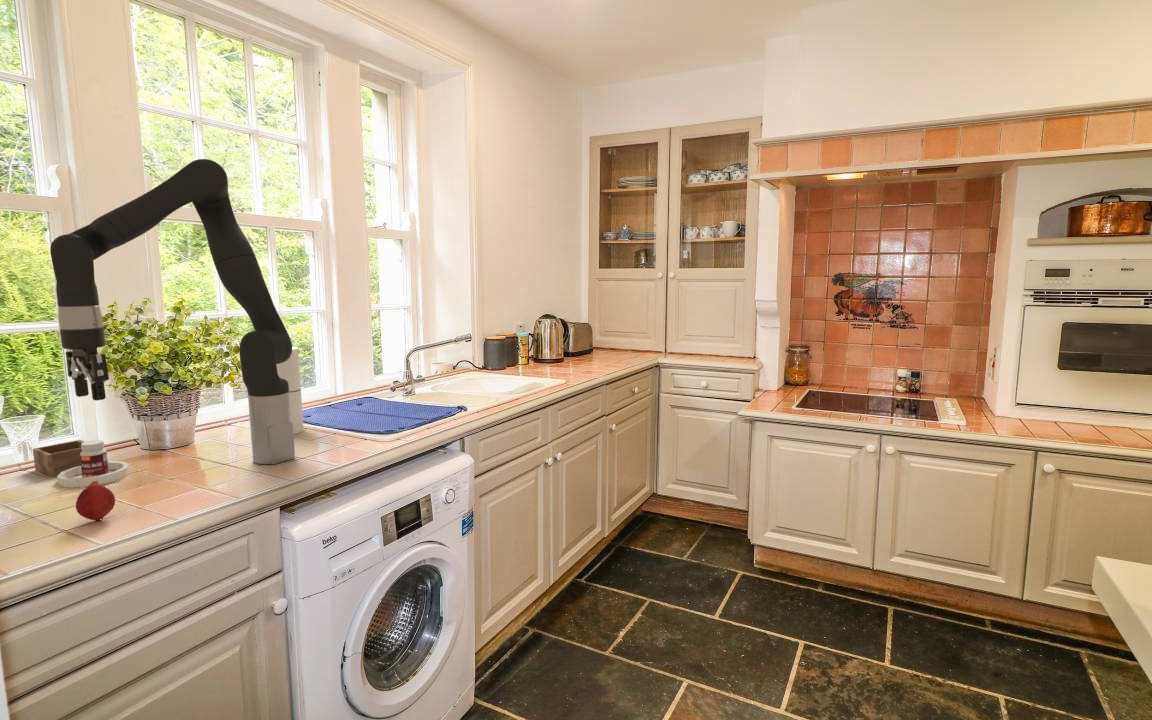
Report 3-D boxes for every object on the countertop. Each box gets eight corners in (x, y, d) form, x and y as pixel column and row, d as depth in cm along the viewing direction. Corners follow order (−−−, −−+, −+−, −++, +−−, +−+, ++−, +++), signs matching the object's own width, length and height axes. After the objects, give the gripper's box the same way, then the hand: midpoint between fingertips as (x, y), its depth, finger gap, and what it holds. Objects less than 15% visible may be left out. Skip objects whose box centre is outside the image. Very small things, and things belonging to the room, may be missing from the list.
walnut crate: (98, 469, 143) (95, 445, 142) (50, 480, 135) (47, 455, 134) (82, 463, 147) (79, 439, 146) (35, 473, 140) (32, 448, 139)
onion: (85, 530, 110) (80, 488, 108) (73, 522, 113) (67, 482, 111) (122, 519, 114) (117, 479, 113) (109, 512, 117) (104, 473, 116)
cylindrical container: (284, 435, 172) (278, 351, 169) (272, 431, 177) (266, 348, 173) (308, 430, 178) (302, 348, 174) (296, 426, 182) (290, 346, 179)
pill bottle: (79, 482, 132) (75, 446, 131) (86, 476, 136) (82, 440, 135) (106, 479, 134) (102, 443, 133) (111, 473, 138) (108, 438, 137)
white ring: (139, 477, 137) (137, 467, 137) (72, 494, 127) (71, 483, 126) (115, 468, 144) (114, 458, 143) (50, 483, 133) (49, 472, 133)
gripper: (116, 326, 131) (124, 398, 133) (88, 323, 138) (96, 392, 140) (74, 329, 125) (84, 404, 127) (47, 326, 132) (56, 397, 134)
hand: (90, 397), depth 134 cm, fingers open, 8 cm apart
